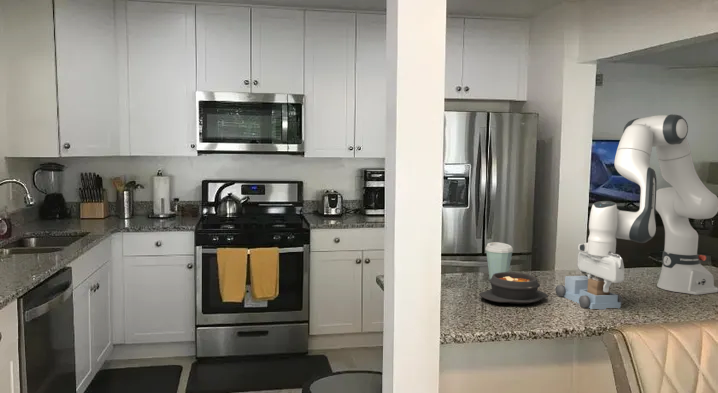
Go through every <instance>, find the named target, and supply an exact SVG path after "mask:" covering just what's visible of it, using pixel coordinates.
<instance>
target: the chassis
mask: <svg viewBox="0 0 718 393" xmlns="http://www.w3.org/2000/svg"><path fill="white" fill-rule="evenodd" d="M587 289H588V277H587V276H583V275H567V276H566V275H565V276H564V285H563V284H558V285H556V286H555V293H556V294H555V295H556V296H558V297H562V298H565V299H567V300H570V301H571V300H572V301H571V302H574V303H576V302H577V303H576V304H578V303H579V304H578V305H579V306H580V308H582V307H583V309H584V308H585V309H586V308H587V309H589V308H590V309H589V310H591V309H599V310H607V309H606V308H618V309H621V306H622V305H623V301H624V300H623V297H622V295H621V294H620V293H614V292H611V291H610V295H597V296H596V295H594V294H591V293H589V292H587Z"/></svg>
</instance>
